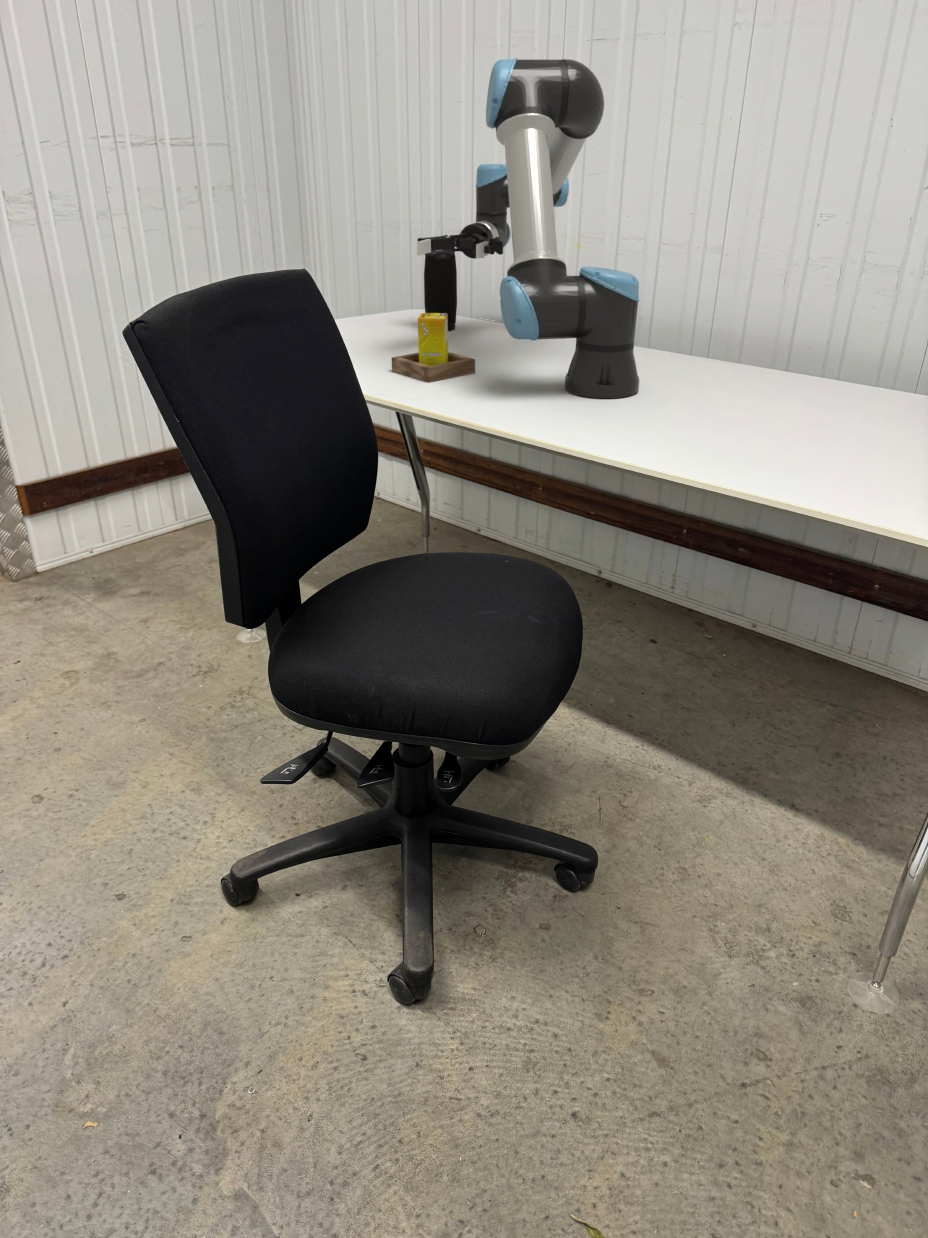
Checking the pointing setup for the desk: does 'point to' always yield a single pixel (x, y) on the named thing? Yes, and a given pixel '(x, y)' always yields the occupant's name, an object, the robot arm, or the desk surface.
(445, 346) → the supplement box
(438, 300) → the portable speaker
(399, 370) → the socket block
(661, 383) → the desk surface
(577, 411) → the desk surface
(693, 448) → the desk surface
